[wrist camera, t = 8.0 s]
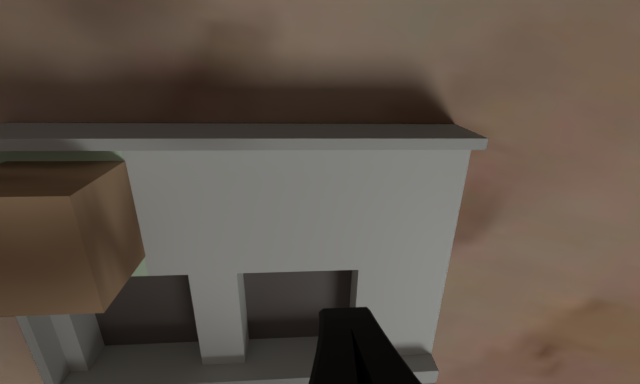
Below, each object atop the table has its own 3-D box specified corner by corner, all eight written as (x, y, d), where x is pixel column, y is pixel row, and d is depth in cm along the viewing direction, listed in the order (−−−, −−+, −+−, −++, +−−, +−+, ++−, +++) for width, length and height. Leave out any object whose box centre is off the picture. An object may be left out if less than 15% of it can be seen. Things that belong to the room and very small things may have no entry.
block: (145, 256, 17) (103, 313, 13) (40, 258, 16) (-33, 317, 13) (125, 160, 15) (69, 196, 11) (5, 161, 15) (-93, 198, 11)
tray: (418, 340, 23) (436, 382, 20) (85, 355, 22) (52, 403, 19) (455, 124, 17) (488, 138, 14) (5, 122, 16) (-61, 138, 13)
